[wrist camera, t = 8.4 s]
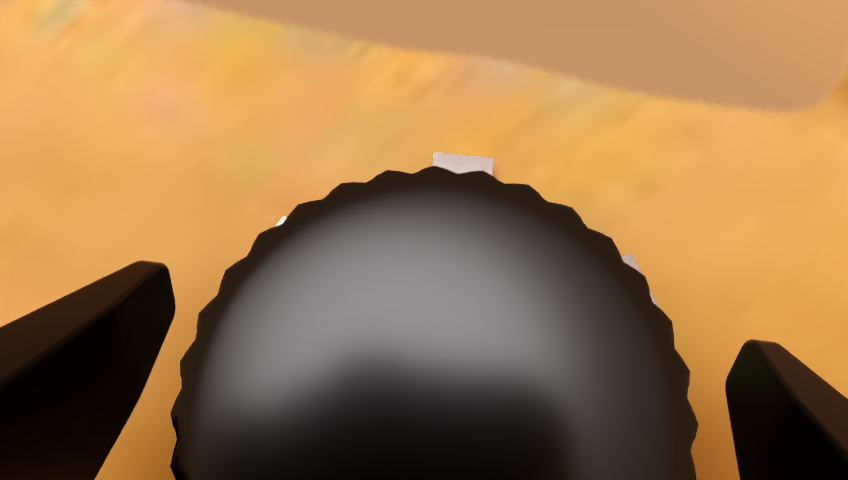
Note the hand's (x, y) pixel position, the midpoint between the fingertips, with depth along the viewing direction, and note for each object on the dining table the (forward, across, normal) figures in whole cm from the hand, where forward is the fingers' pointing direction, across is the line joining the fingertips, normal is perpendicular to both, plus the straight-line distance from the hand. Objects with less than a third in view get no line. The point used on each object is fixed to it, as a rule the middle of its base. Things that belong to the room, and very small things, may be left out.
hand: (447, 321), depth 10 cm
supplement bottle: (+5, 0, +7) cm, 8 cm away
